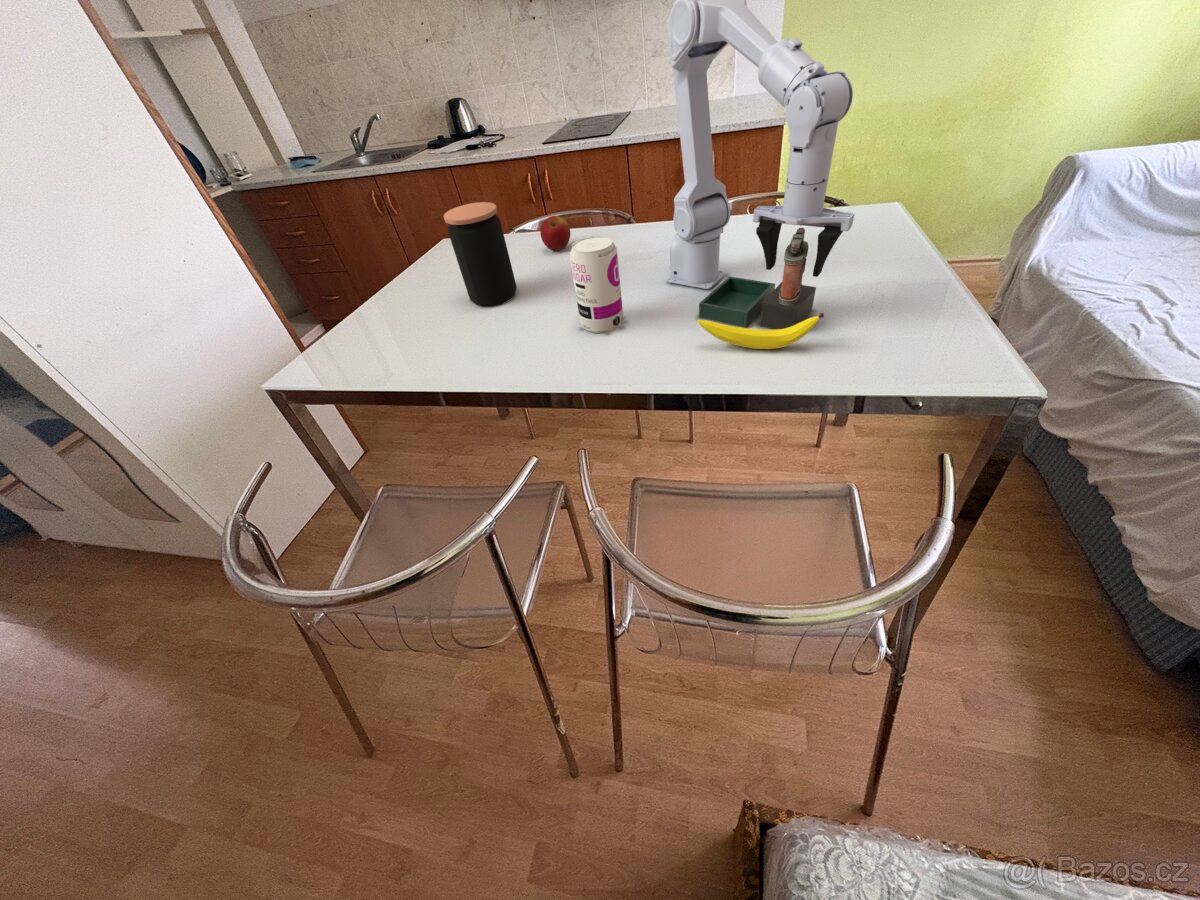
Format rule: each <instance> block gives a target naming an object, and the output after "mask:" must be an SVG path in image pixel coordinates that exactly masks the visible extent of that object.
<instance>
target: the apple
mask: <svg viewBox="0 0 1200 900" xmlns="http://www.w3.org/2000/svg"><path fill="white" fill-rule="evenodd" d="M539 232H540V239H541V241H542V243H543V244H544V246H545V247H546V248H547V249H548V250H550V251H552V252H553V251H554V252H558V251H562V250H564V249H565V248H566V247H567V246H568V245H569V242H570V239H571V228H570V226H569V223H568V222H567V221H566V220H565V219H564V218H562V217H561V216H557V215H551V216H549V217H546V219H545V220H544V221H543V222H542V224H541V226H540V231H539Z"/></svg>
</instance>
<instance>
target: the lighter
mask: <svg viewBox="0 0 1200 900" xmlns="http://www.w3.org/2000/svg"><path fill="white" fill-rule="evenodd" d="M805 233H806V229H805V227H798V228H797V230H796V232H795V233H793V234H792V239H791V240H790V243H789V244H788V245H787V247H786V248H785V251H784V255H783V262H784V266H783V273H782V281H781V282H782V287H781V288H780V293H779V303H780V304H783V305H793V304H795V303H796V302H797V301H798V299H799V297H800V295H801V290H802V285H803V276H804V273H805V271H806V265H807V258H808V253H809V248H810V247H809V242H808V241H806V240H804V239H805Z"/></svg>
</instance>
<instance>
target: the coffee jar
mask: <svg viewBox="0 0 1200 900" xmlns="http://www.w3.org/2000/svg"><path fill="white" fill-rule="evenodd" d="M497 212H498V206H497V205H496V204H495V203H493V202H488V201H482V202H481V201H480V202H479V201H478V202H471V203H467V204H462V205H459V206H456V207H454V208H451V209H449V210H448V211H446V212H445V213H444V214H443V215H442V218H443V220H444V222H445V224H447V225H448V226H447V233H448V236H449V240H450V242H451V245H452V248H453V251H454V256H455V258H456V261H457V263H458V267H459V270H460V273H461V277H462V280H463V283H464V286H465V289H466V292H467V295H468V298H469V300H470V301H471V302H473V304H474V305H476V307H477V306H478V307H482V308H484V307H485V308H488V307H496V306H499V305H503V304H505V303H507V302H509V301H511V300H512V299H513V298H515V295H516V292H517V287H518V286H517V282H516V278H515V275H514V271H513V267H512V262H511V259H510V254H509V250H508V246H507V243H506V238H505V234H504V230H503V227H502V222H501V218H499V216H498V215H497Z"/></svg>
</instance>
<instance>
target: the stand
mask: <svg viewBox="0 0 1200 900" xmlns="http://www.w3.org/2000/svg"><path fill="white" fill-rule="evenodd" d="M781 287H782V281H781V282H780V283H779V284H778V285H777V286H776V287H775V290H774V291H773V292H772V293H771V294H770V295H769V296H768V297H767V298H766V299H765V300H764V301H763V302H762V311H761V312H760V322H759V326H760V327H762V328H766V329H770V330H776V329H784V328H788V327H791V326H794V325H796V324H798V323H800V322H802V321H804V320H806V319H808V316H809V315H810V314H811V313H812V311H813V306H814V301H815V296H816V291H817V286H810V285H806V284H802V290H801V295H800V297H799V299H798V301H797V302H796V303H795V304H793V305H783V304H780V303H779V293H780V288H781Z"/></svg>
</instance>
